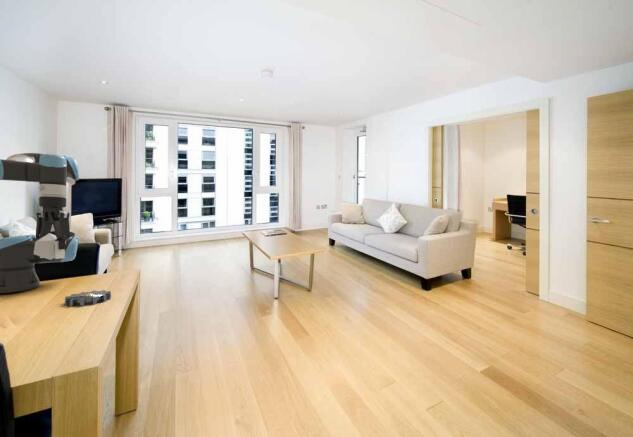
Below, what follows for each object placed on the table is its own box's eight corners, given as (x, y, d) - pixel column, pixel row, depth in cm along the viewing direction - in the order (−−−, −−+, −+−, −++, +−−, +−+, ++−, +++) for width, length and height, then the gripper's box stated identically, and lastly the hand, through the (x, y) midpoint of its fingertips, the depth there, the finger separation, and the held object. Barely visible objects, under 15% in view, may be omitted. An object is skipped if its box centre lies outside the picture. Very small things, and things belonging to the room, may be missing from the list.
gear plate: (60, 302, 113) (60, 295, 113) (103, 294, 125) (103, 288, 125) (70, 308, 104) (70, 302, 104) (116, 299, 116) (116, 293, 116)
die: (57, 259, 102) (56, 232, 102) (27, 262, 100) (26, 234, 100) (71, 257, 110) (70, 232, 111) (44, 260, 108) (43, 234, 109)
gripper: (22, 196, 105) (21, 258, 105) (60, 195, 99) (60, 260, 99) (46, 197, 112) (45, 255, 112) (83, 196, 107) (82, 257, 106)
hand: (52, 257), depth 106 cm, fingers closed on die, 7 cm apart
